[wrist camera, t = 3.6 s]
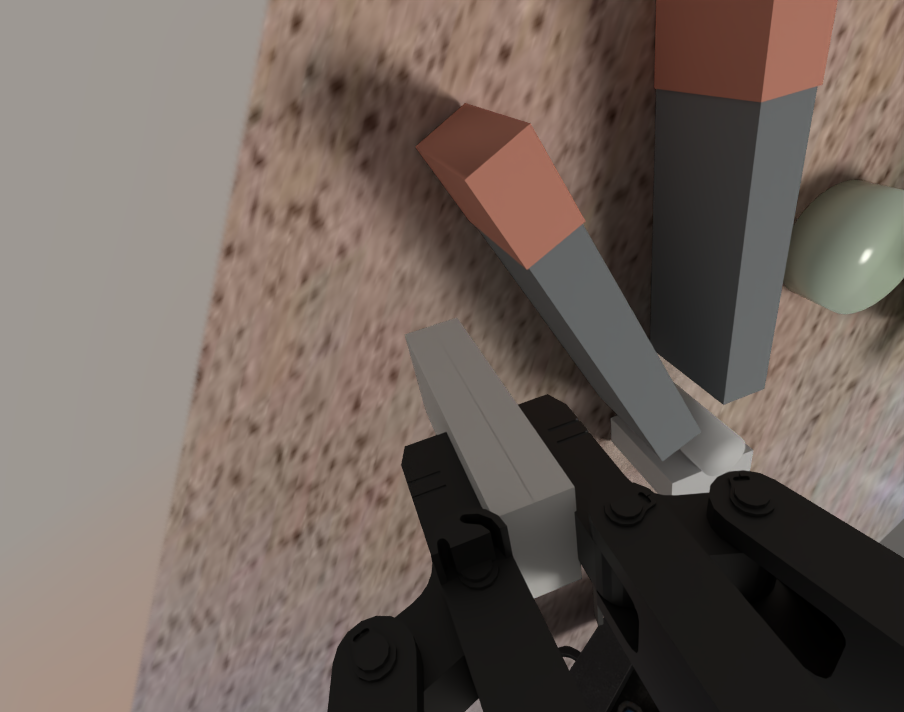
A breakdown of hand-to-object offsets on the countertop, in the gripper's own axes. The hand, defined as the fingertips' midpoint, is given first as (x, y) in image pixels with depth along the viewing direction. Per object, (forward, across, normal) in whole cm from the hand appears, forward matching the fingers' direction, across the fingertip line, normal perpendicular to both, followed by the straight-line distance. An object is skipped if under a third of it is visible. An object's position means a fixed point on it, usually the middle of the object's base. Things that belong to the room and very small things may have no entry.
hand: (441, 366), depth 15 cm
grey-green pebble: (+11, +26, -8) cm, 29 cm away
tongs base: (+10, +14, -5) cm, 18 cm away
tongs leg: (+10, +8, -4) cm, 13 cm away
